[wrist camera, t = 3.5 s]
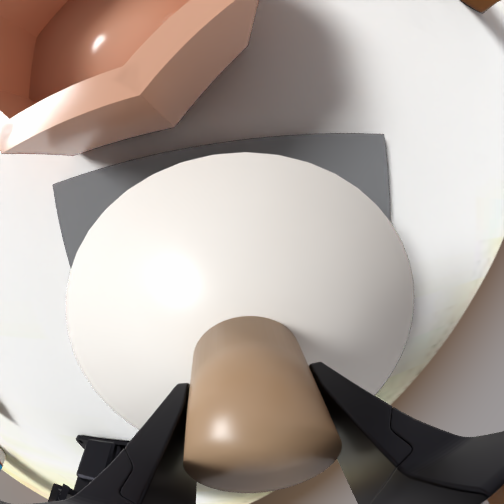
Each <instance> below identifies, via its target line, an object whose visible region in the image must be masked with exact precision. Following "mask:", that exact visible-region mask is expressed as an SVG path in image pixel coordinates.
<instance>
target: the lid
mask: <svg viewBox="0 0 504 504" xmlns="http://www.w3.org/2000/svg"><path fill="white" fill-rule="evenodd" d="M413 310H414V282H413V277H412V272H411V267H410V262H409V259H408V256H407V254H406V251H405V248H404V245H403V243H402V241H401V239H400V237H399V236H398V234H397V232H396V230H395V228H394V227H393V225H392V223H391V222H390V221H389V219H388V218H387V217H386V216H385V214H384V213H383V212H382V211H381V209H380V208H379V207H378V206H377V205H376V204H375V203H374V202H373V201H372V200H371V199H370V198H369V197H367V196H366V195H365V194H364V193H363V192H362V191H361V190H360V189H358V188H357V187H355V186H354V185H352V184H351V183H349V182H348V181H346V180H344V179H343V178H341V177H340V176H338V175H336V174H335V173H332V172H330V171H328V170H325V169H323V168H321V167H318V166H316V165H314V164H311V163H309V162H305V161H301V160H297V159H293V158H289V157H285V156H281V155H274V154H263V153H250V152H242V153H228V154H216V155H210V156H206V157H201V158H197V159H193V160H189V161H185V162H181V163H179V164H176V165H174V166H171V167H169V168H167V169H164V170H162V171H160V172H157V173H155V174H153V175H151V176H149V177H148V178H146V179H144V180H143V181H141V182H140V183H138V184H136V185H135V186H133V187H132V188H130V189H129V190H127V191H126V192H125V193H123V194H122V195H121V196H120V197H119V198H118V199H117V200H116V201H114V202H113V203H112V204H111V205H110V206H109V207H108V208H107V209H106V210H105V211H104V212H103V213H102V214H101V216H100V217H99V218H98V219H97V221H96V222H95V223H94V224H93V226H92V227H91V228H90V230H89V231H88V233H87V235H86V236H85V238H84V240H83V242H82V244H81V245H80V247H79V249H78V251H77V253H76V256H75V259H74V262H73V265H72V268H71V271H70V274H69V279H68V285H67V291H66V323H67V329H68V335H69V339H70V343H71V346H72V349H73V352H74V355H75V357H76V360H77V362H78V364H79V366H80V368H81V370H82V372H83V374H84V375H85V377H86V379H87V380H88V382H89V383H90V385H91V386H92V388H93V389H94V390H95V392H96V393H97V394H98V395H99V396H100V398H101V399H102V400H103V401H104V402H105V403H106V404H107V405H108V406H109V407H110V408H111V409H112V410H113V411H114V412H115V413H116V414H118V415H119V416H120V417H121V418H123V419H124V420H125V421H127V422H128V423H129V424H131V425H132V426H134V427H135V428H137V429H139V430H140V429H141V427H142V426H143V425H144V424H145V423H146V421H147V420H148V419H149V418H150V417H151V415H152V414H153V413H154V412H155V410H156V409H157V408H158V407H159V406H160V404H161V403H162V402H163V401H164V399H165V398H166V397H167V396H168V395H169V393H170V392H171V391H172V390H173V388H174V387H175V386H176V385H177V384H179V383H189V384H190V388H189V398H188V408H187V419H186V430H185V443H184V457H183V466H184V470H185V471H186V473H187V474H188V475H189V476H190V477H191V478H192V479H194V480H195V481H197V482H199V483H200V484H203V485H205V486H208V487H211V488H214V489H218V490H222V491H228V492H237V493H257V492H267V491H274V490H279V489H283V488H287V487H290V486H294V485H297V484H299V483H302V482H304V481H307V480H309V479H311V478H313V477H315V476H316V475H318V474H320V473H321V472H323V471H324V470H325V469H327V468H328V467H329V466H330V465H331V464H333V463H334V461H335V460H336V459H337V458H338V456H339V454H340V452H341V450H342V442H341V439H340V437H339V434H338V432H337V430H336V427H335V425H334V423H333V420H332V418H331V416H330V414H329V411H328V409H327V407H326V404H325V402H324V400H323V398H322V395H321V393H320V391H319V389H318V386H317V384H316V382H315V379H314V377H313V375H312V373H311V370H310V368H309V365H310V364H311V363H316V362H322V363H324V364H325V365H327V366H329V367H330V368H332V369H333V370H335V371H336V372H338V373H339V374H341V375H342V376H344V377H345V378H347V379H349V380H350V381H352V382H353V383H355V384H356V385H358V386H360V387H361V388H363V389H364V390H366V391H368V392H369V393H371V394H373V395H375V394H376V393H377V392H378V391H379V390H380V388H381V387H382V386H383V385H384V383H385V382H386V381H387V379H388V378H389V376H390V375H391V373H392V372H393V370H394V368H395V366H396V365H397V363H398V361H399V359H400V357H401V355H402V352H403V350H404V347H405V345H406V342H407V339H408V336H409V332H410V328H411V324H412V319H413Z"/></svg>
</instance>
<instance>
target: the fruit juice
mask: <svg viewBox="0 0 504 504" xmlns="http://www.w3.org/2000/svg"><path fill="white" fill-rule="evenodd" d="M5 459H6V455H5V453H4V452H3V450H2V449H1V448H0V471H1V469H2V466H3V464H4V462H5Z"/></svg>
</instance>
